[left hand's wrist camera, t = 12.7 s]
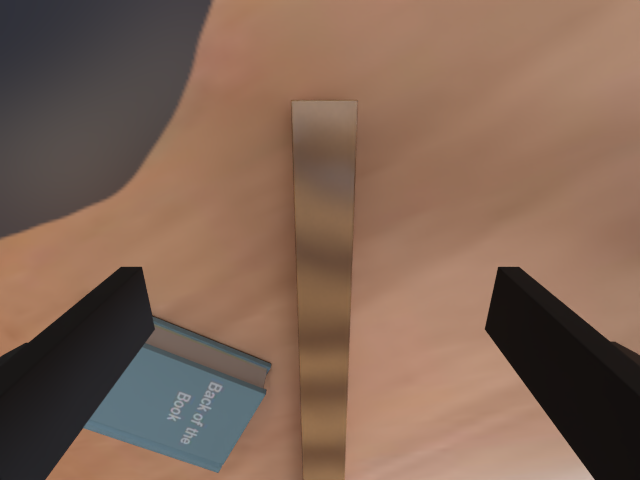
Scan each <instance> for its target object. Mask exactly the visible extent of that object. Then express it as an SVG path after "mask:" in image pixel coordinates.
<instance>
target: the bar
mask: <svg viewBox="0 0 640 480" xmlns="http://www.w3.org/2000/svg"><path fill="white" fill-rule="evenodd" d="M357 110H358V100H291V115H292V147H293V178H294V210H295V241H296V273H297V304H298V335H299V367H300V398H301V430H302V461H303V480H344V479H345V451H346V422H347V394H348V366H349V337H350V309H351V281H352V252H353V224H354V195H355V167H356V139H357Z"/></svg>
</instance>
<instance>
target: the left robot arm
mask: <svg viewBox="0 0 640 480" xmlns="http://www.w3.org/2000/svg"><path fill="white" fill-rule="evenodd" d="M154 330H155V326H154V322H153V317H152V312H151V308H150V303H149V298H148V293H147V289H146V284H145V279H144V275H143V270H142V267H120V268H119V269H118V270H117V271H115V272H114V273H113V274H112V275H111V276H109V277H108V278H107V279H106V280H104V281H103V282H102V283H101V284H100V285H98V286H97V287H96V288H95V289H94V290H92V291H91V292H90V293H89V294H87V295H86V296H85V297H84V298H83V299H81V300H80V301H79V302H78V303H76V304H75V305H74V306H73V307H72V308H70V309H69V310H68V311H67V312H65V313H64V314H63V315H62V316H61V317H59V318H58V319H57V320H56V321H55V322H53V323H52V324H51V325H50V326H48V327H47V328H46V329H45V330H44V331H42V332H41V333H40V334H39V335H37V336H36V337H35V338H34V339H33V340H31V341H30V342H29V343H24V344H23V345H21V346H19V347H17V348H15V349H13V350H12V351H10V352H8V353H6V354H4V355H2V356H1V357H0V480H45V479H46V478H47V477H48V475H49V474H50V472H51V471H52V470H53V468H54V467H55V466H56V464H57V463H58V462H59V460H60V459H61V457H62V456H63V455H64V453H65V452H66V451H67V449H68V448H69V446H70V445H71V444H72V442H73V441H74V440H75V438H76V437H77V436H78V434H79V433H80V431H81V430H82V429H83V427H84V426H85V425H86V423H87V422H88V420H89V419H90V418H91V416H92V415H93V414H94V412H95V411H96V410H97V408H98V407H99V405H100V404H101V403H102V401H103V400H104V399H105V397H106V396H107V394H108V393H109V392H110V390H111V389H112V388H113V386H114V385H115V384H116V382H117V381H118V379H119V378H120V377H121V375H122V374H123V373H124V371H125V370H126V368H127V367H128V366H129V364H130V363H131V362H132V360H133V359H134V358H135V356H136V355H137V353H138V352H139V351H140V349H141V348H142V347H143V345H144V344H145V342H146V341H147V340H148V338H149V337H150V336H151V334H152V333H153V332H154ZM485 330H486V332H487V333H488V334H489V336H490V337H491V338H492V340H493V341H494V342H495V344H496V345H497V347H498V348H499V349H500V351H501V352H502V353H503V355H504V356H505V358H506V359H507V360H508V362H509V363H510V364H511V366H512V367H513V368H514V370H515V371H516V373H517V374H518V375H519V377H520V378H521V379H522V381H523V382H524V384H525V385H526V386H527V388H528V389H529V390H530V392H531V393H532V394H533V396H534V397H535V399H536V400H537V401H538V403H539V404H540V405H541V407H542V408H543V410H544V411H545V412H546V414H547V415H548V416H549V418H550V419H551V420H552V422H553V423H554V425H555V426H556V427H557V429H558V430H559V431H560V433H561V434H562V436H563V437H564V438H565V440H566V441H567V442H568V444H569V445H570V446H571V448H572V449H573V451H574V452H575V453H576V455H577V456H578V457H579V459H580V460H581V462H582V463H583V464H584V466H585V467H586V468H587V470H588V471H589V472H590V474H591V475H592V477H593V478H594V479H595V480H640V355H638V354H637V353H635V352H633V351H631V350H629V349H627V348H626V347H624V346H622V345H620V344H618V343H616V342H610V341H609V340H607V339H606V338H605V337H604V336H603V335H601V334H600V333H599V332H598V331H596V330H595V329H594V328H593V327H592V326H590V325H589V324H588V323H587V322H585V321H584V320H583V319H582V318H581V317H579V316H578V315H577V314H576V313H575V312H573V311H572V310H571V309H570V308H568V307H567V306H566V305H565V304H564V303H562V302H561V301H560V300H559V299H557V298H556V297H555V296H554V295H553V294H551V293H550V292H549V291H548V290H546V289H545V288H544V287H543V286H542V285H540V284H539V283H538V282H537V281H536V280H534V279H533V278H532V277H531V276H529V275H528V274H527V273H526V272H525V271H523V270H522V269H521V268H520V267H498V270H497V275H496V279H495V284H494V289H493V293H492V298H491V303H490V308H489V312H488V317H487V322H486V326H485Z"/></svg>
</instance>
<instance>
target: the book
mask: <svg viewBox="0 0 640 480" xmlns="http://www.w3.org/2000/svg"><path fill="white" fill-rule="evenodd" d="M152 317H153V316H152ZM153 322H154V326H155V330H154V332H153V333H152V334H151V336H150V337H149V338H148V340H147V341H146V342H145V344H144V345H143V347H142V348H141V349H140V351H139V352H138V353H137V355H136V356H135V358H134V359H133V360H132V362H131V363H130V364H129V366H128V367H127V368H126V370H125V371H124V373H123V374H122V375H121V377H120V378H119V379H118V381H117V382H116V384H115V385H114V386H113V388H112V389H111V390H110V392H109V393H108V394H107V396H106V397H105V399H104V400H103V401H102V403H101V404H100V405H99V407H98V408H97V410H96V411H95V412H94V414H93V415H92V416H91V418H90V419H89V420H88V422H87V423H86V425H85V426H84V427H83V428H85V429H88V430H91V431H94V432H97V433H100V434H103V435H106V436H109V437H112V438H115V439H118V440H121V441H124V442H127V443H130V444H133V445H136V446H139V447H142V448H145V449H148V450H151V451H154V452H157V453H160V454H163V455H166V456H169V457H172V458H175V459H178V460H181V461H184V462H187V463H190V464H193V465H196V466H199V467H202V468H205V469H208V470H211V471H214V472H217V473H218V472H219V471H220V469H221V467H222V464H224V462H225V461H226V459H227V457H228V456H229V454H230V453H231V451H232V449H233V448H234V446H235V444H236V443H237V441H238V439H239V438H240V436H241V434H242V433H243V431H244V429H245V428H246V426H247V424H248V423H249V421H250V419H251V418H252V416H253V414H254V413H255V411H256V409H257V408H258V406H259V404H260V403H261V401H262V400H263V398H264V396H265V395H266V389H263V388H264V382H265V377H266V375H267V373H268V371H269V370H270V368H271V364H270V363H267V362H265V361H262V360H260V359H258V358H255V357H253V356H250V355H248V354H245V353H243V352H240V351H238V350H235V349H233V348H230V347H228V346H225V345H223V344H220V343H218V342H215V341H213V340H210V339H208V338H205V337H203V336H200V335H198V334H195V333H193V332H190V331H188V330H185V329H183V328H180V327H178V326H175V325H173V324H170V323H168V322H165V321H163V320H160V319H158V318H155V317H153Z"/></svg>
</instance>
